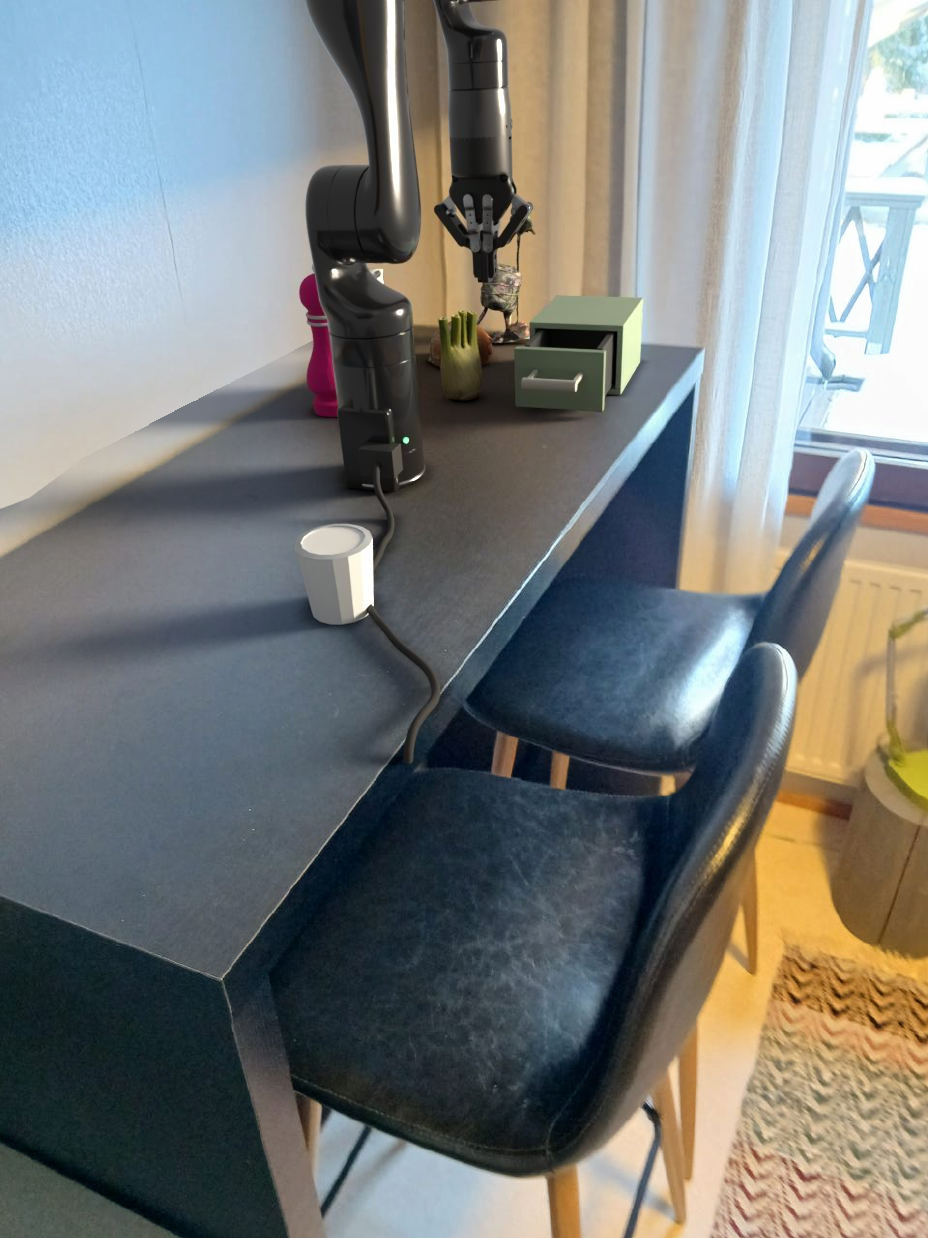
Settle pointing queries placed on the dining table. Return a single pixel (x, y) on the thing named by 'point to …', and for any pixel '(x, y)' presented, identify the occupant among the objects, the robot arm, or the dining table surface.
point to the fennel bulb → (460, 356)
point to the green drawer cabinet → (599, 326)
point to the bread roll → (435, 349)
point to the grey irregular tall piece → (506, 295)
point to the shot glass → (337, 571)
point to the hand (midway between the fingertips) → (485, 281)
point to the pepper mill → (319, 351)
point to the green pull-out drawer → (565, 369)
